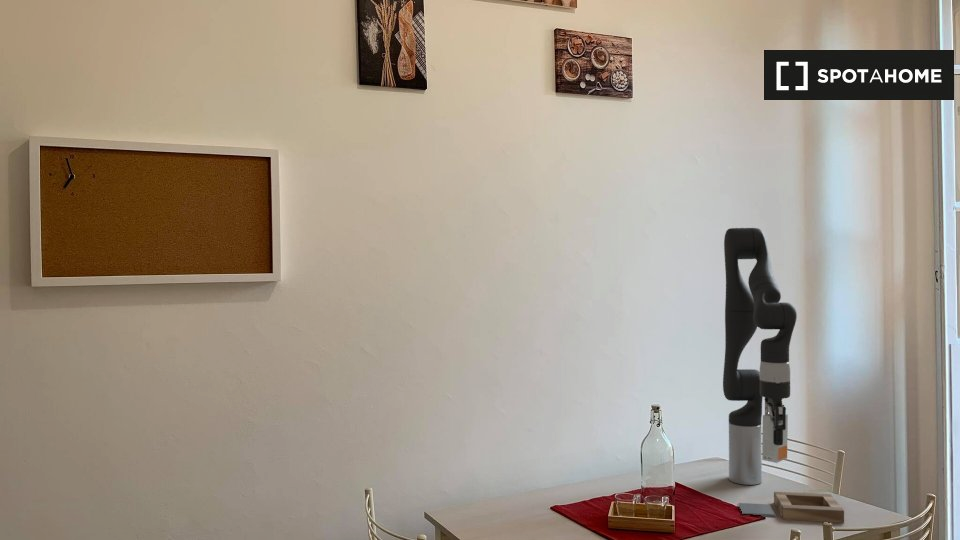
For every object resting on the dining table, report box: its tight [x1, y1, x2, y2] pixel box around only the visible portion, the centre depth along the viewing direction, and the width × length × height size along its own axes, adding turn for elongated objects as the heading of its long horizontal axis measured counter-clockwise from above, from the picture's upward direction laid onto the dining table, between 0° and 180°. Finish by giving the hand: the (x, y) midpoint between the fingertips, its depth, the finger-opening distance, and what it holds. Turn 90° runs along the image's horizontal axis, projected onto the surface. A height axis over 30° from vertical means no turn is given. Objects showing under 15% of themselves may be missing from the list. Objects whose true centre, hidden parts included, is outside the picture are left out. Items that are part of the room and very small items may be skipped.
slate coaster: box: [737, 502, 776, 518], centre depth 203 cm, size 8×8×1 cm
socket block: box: [773, 491, 845, 523], centre depth 201 cm, size 13×14×3 cm
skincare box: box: [761, 413, 789, 464], centre depth 202 cm, size 6×4×12 cm
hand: (774, 440), depth 202 cm, fingers closed on skincare box, 7 cm apart
